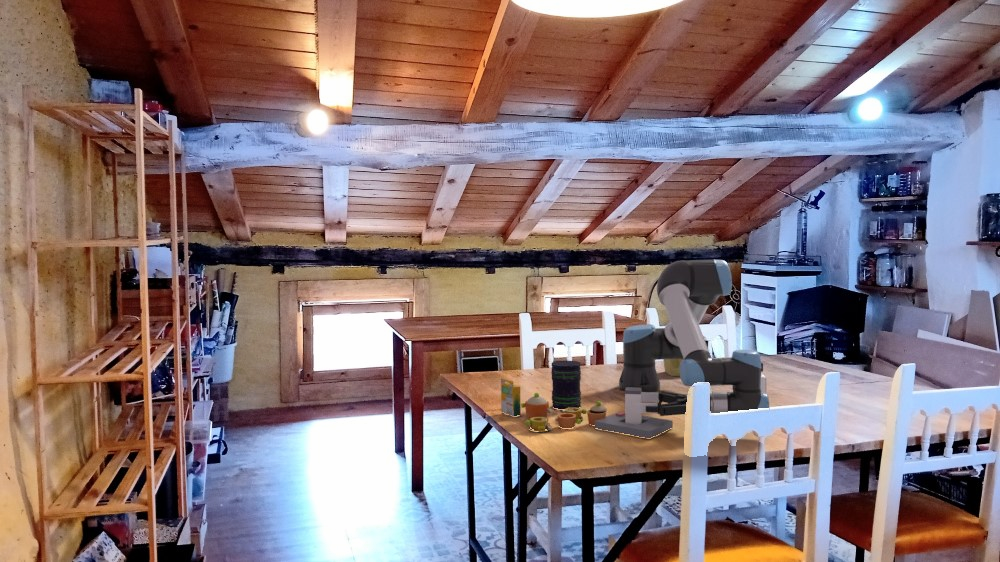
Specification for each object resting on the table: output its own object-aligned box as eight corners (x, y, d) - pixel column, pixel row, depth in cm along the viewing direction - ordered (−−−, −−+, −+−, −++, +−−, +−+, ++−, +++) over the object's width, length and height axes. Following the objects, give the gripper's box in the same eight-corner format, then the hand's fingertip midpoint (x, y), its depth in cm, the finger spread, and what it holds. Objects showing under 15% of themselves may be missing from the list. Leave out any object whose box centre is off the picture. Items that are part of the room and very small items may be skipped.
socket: (594, 429, 202) (594, 419, 202) (619, 419, 213) (619, 409, 213) (649, 440, 191) (649, 429, 190) (672, 429, 201) (672, 418, 201)
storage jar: (546, 405, 232) (546, 362, 231) (572, 402, 236) (571, 359, 235) (560, 412, 223) (560, 366, 222) (586, 408, 227) (586, 364, 226)
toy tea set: (528, 435, 198) (528, 402, 198) (515, 422, 214) (515, 391, 213) (613, 428, 204) (613, 396, 204) (595, 415, 219) (594, 385, 219)
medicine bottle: (766, 397, 237) (766, 363, 237) (744, 397, 239) (744, 363, 238) (762, 393, 244) (762, 359, 244) (741, 392, 246) (741, 359, 245)
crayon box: (521, 416, 219) (520, 380, 218) (513, 418, 217) (512, 381, 216) (508, 412, 225) (508, 377, 224) (501, 413, 223) (500, 378, 223)
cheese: (695, 376, 276) (695, 351, 276) (669, 376, 276) (669, 352, 276) (689, 371, 287) (689, 347, 286) (663, 371, 287) (663, 348, 286)
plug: (625, 431, 200) (625, 390, 199) (626, 426, 204) (626, 387, 204) (641, 431, 199) (640, 391, 198) (641, 427, 203) (641, 387, 203)
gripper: (713, 429, 184) (632, 425, 189) (708, 407, 208) (637, 404, 213) (713, 402, 183) (632, 399, 188) (708, 382, 207) (637, 380, 213)
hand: (634, 401), depth 201 cm, fingers open, 13 cm apart
